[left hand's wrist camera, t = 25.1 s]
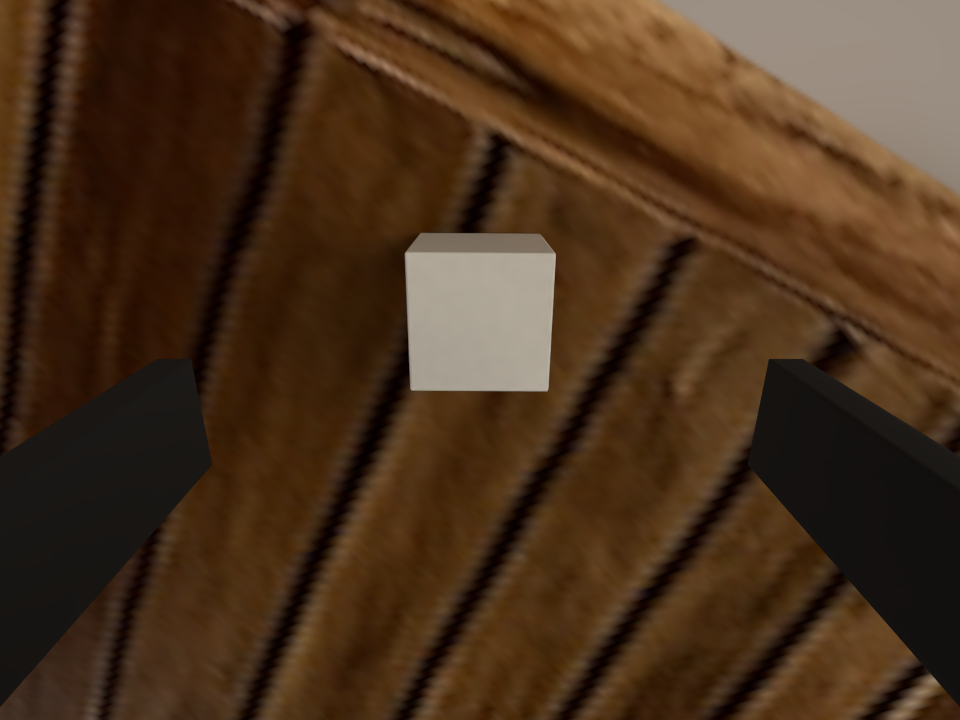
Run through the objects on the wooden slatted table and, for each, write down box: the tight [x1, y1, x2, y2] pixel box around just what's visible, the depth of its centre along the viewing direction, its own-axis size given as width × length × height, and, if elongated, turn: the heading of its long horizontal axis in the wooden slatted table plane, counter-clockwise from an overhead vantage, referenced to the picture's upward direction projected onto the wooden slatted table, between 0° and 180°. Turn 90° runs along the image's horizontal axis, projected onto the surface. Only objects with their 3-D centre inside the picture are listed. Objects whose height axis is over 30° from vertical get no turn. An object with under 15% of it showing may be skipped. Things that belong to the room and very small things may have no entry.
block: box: [405, 233, 556, 391], centre depth 21 cm, size 5×5×5 cm
